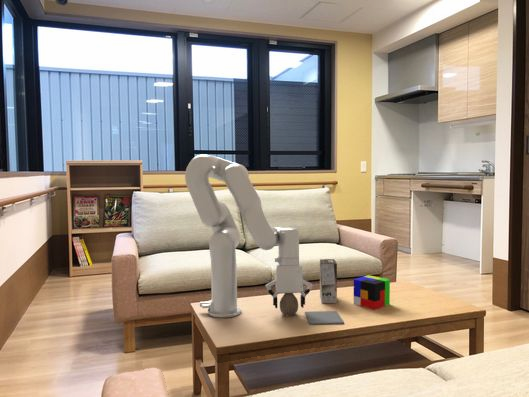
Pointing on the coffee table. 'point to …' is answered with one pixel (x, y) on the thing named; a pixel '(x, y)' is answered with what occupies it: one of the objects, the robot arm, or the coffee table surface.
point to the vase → (289, 304)
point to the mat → (323, 317)
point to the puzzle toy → (371, 292)
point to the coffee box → (328, 281)
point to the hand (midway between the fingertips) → (289, 306)
